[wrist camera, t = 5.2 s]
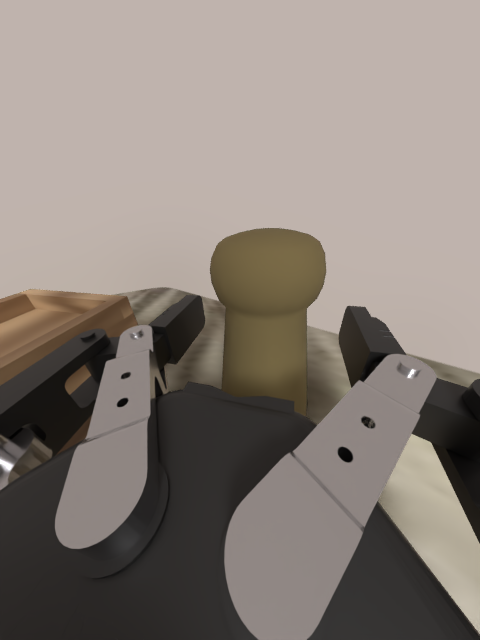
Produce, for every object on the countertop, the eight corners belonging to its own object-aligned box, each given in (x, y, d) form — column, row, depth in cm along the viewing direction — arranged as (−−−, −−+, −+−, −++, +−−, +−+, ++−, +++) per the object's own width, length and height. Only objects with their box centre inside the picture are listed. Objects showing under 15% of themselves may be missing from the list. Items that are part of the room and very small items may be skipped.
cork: (244, 462, 11) (228, 253, 5) (210, 383, 15) (181, 231, 10) (327, 414, 13) (385, 230, 7) (274, 358, 17) (283, 221, 12)
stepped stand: (170, 345, 20) (154, 290, 16) (-12, 553, 8) (-180, 501, 5) (67, 330, 23) (36, 282, 20) (-166, 463, 11) (-326, 398, 8)
